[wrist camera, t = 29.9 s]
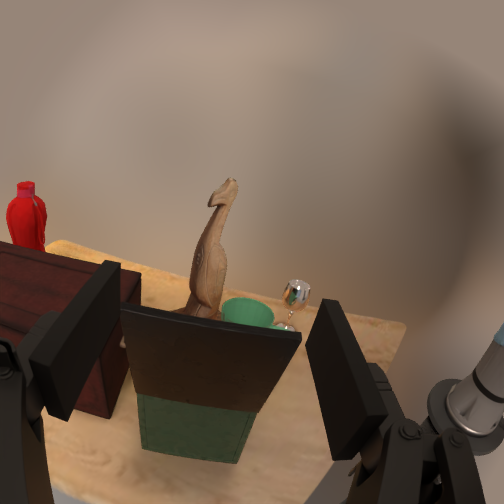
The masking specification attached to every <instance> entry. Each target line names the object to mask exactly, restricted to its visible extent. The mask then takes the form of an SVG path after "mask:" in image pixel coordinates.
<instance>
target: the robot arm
mask: <svg viewBox="0 0 504 504" xmlns="http://www.w3.org/2000/svg"><path fill="white" fill-rule="evenodd" d="M120 315H121V263H119V262H114V261H109V260H105V261H104V262H103V263H102V264H101V265H100V266H99V268H98V269H97V270H96V271H95V272H94V273H93V275H92V276H91V277H90V278H89V279H88V281H87V282H86V283H85V284H84V285H83V287H82V288H81V289H80V290H79V291H78V293H77V294H76V295H75V296H74V298H73V299H72V300H71V301H70V303H69V304H68V305H67V307H66V308H65V309H64V310H63V312H62V313H60V312H57V311H53V310H51V311H49V312H47V313H46V314H44V315H42V316H41V317H40V318H39V319H38V321H37V322H36V323H35V324H34V326H33V327H32V328H31V329H30V330H29V333H27V334H26V336H25V337H24V338H23V339H22V341H21V342H20V343H19V345H18V346H17V347H16V348H15V345H14V344H13V342H12V341H10V340H9V339H7V338H3V337H0V504H54V499H53V494H52V489H51V483H50V478H49V471H48V465H47V457H46V449H45V440H44V429H43V419H42V416H41V411H42V409H43V407H44V406H45V407H46V409H47V412H48V414H49V415H51V416H53V417H56V418H59V419H61V420H64V421H67V422H68V420H69V418H70V415H71V413H72V411H73V409H74V407H75V404H76V402H77V400H78V398H79V396H80V393H81V391H82V389H83V387H84V385H85V383H86V381H87V379H88V377H89V375H90V373H91V371H92V368H93V366H94V364H95V362H96V360H97V358H98V356H99V354H100V353H101V351H102V349H103V347H104V345H105V343H106V341H107V339H108V337H109V335H110V333H111V331H112V329H113V328H114V326H115V324H116V322H117V320H118V318H119V316H120ZM305 347H306V351H307V355H308V359H309V363H310V367H311V371H312V375H313V379H314V383H315V387H316V391H317V395H318V400H319V404H320V408H321V412H322V416H323V421H324V425H325V429H326V434H327V438H328V442H329V447H330V451H331V456H332V460H333V461H337V460H352V459H353V458H354V457H355V455H356V454H357V453H358V452H360V455H361V458H362V459H361V461H360V462H359V463H358V464H357V465H356V466H355V467H354V468H353V469H352V470H351V471H350V472H349V474H348V476H351V475H352V474H353V473H354V472H355V475H354V478H353V481H352V485H351V488H350V491H349V494H348V498H347V501H346V504H486V503H485V498H484V494H483V489H482V485H481V481H480V477H479V473H478V469H477V466H476V462H475V459H474V455H473V452H472V448H471V445H470V442H469V439H468V437H467V435H468V436H471V437H475V438H483V437H486V436H488V435H490V434H491V433H492V431H493V430H494V429H495V428H496V427H497V425H499V426H500V427H501V428H502V429H503V430H504V424H503V423H502V422H501V421H500V419H501V417H502V414H503V412H504V323H503V324H502V326H501V327H500V329H499V331H498V332H497V333H496V334H495V335H494V339H493V341H492V343H491V344H490V346H489V348H488V349H487V351H486V352H485V354H484V355H483V357H482V358H481V360H480V361H479V363H478V364H477V366H476V368H475V369H474V370H473V372H472V373H471V374H470V375H469V376H467V377H466V378H465V379H463V380H462V381H461V382H460V383H458V384H457V385H456V384H455V385H454V386H452V388H451V390H450V391H449V393H448V394H447V395H446V397H445V402H444V405H445V410H446V413H447V415H448V417H449V419H450V420H451V422H452V423H453V424H454V425H455V426H456V427H457V428H456V427H448V428H446V429H445V430H444V431H443V432H442V433H441V434H440V435H436V434H430V433H424V432H423V430H422V429H421V427H420V426H419V425H418V424H417V423H416V422H415V421H412V420H410V419H406V418H405V416H404V414H403V412H402V409H401V407H400V405H399V403H398V401H397V398H396V396H395V394H394V392H393V391H392V388H391V385H390V384H389V383H388V379H387V377H386V375H385V373H384V371H383V370H382V369H381V368H380V367H379V366H378V365H377V364H376V363H367V362H366V360H365V358H364V355H363V353H362V351H361V349H360V346H359V344H358V342H357V340H356V338H355V336H354V333H353V331H352V329H351V327H350V325H349V323H348V320H347V318H346V316H345V314H344V312H343V310H342V308H341V306H340V304H339V302H338V301H336V300H330V299H322V302H321V305H320V307H319V310H318V313H317V316H316V318H315V321H314V323H313V326H312V329H311V331H310V334H309V336H308V339H307V341H306V344H305ZM439 476H440V477H441V483H439V482H438V477H439Z"/></svg>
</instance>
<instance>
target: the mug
mask: <svg viewBox="0 0 504 504" xmlns="http://www.w3.org/2000/svg"><path fill="white" fill-rule="evenodd" d="M221 319H222V321H226V322H232V323H238V324H245V325H251V326H258V327H265V328H272V329H280V330H287V331H290V330H288V329H286V328H283V327H279V326H275V325H272V324H273V322H274V319H275V318H274V313H273V312H272V310H271V309H270V308H269V307H268V306H267V305H265V304H264V303H262V302H260V301H257V300H254V299H251V298H244V297H239V298H232V299H229V300H227V301H226V302H225V303H224V304H223V305H222V311H221Z"/></svg>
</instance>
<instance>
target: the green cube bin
mask: <svg viewBox="0 0 504 504" xmlns="http://www.w3.org/2000/svg"><path fill="white" fill-rule="evenodd" d="M137 402H138V414H139V425H140V435H141V443H142V449H145V450H150V451H155V452H159V453H164V454H170V455H175V456H181V457H187V458H193V459H200V460H207V461H216V462H225V463H235V464H237V462H238V459H239V457H240V455H241V452H242V450H243V447H244V445H245V442H246V440H247V437H248V435H249V432H250V430H251V427H252V425H253V422H254V420H255V417H256V415H257V413H255V412H245V411H236V410H228V409H220V408H213V407H206V406H200V405H194V404H188V403H182V402H177V401H171V400H166V399H161V398H156V397H152V396H147V395H143V394H139V393H137Z"/></svg>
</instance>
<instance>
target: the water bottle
mask: <svg viewBox="0 0 504 504" xmlns="http://www.w3.org/2000/svg"><path fill="white" fill-rule="evenodd" d="M6 220H7V225H8V229H9V232H10V235H11V238H12V241H13V244H14V245H18V246H22V247H26V248H30V249H34V250H39V251H43V252H45V248H44V245H43V244H44V243H45V234H44V231H45V226H46V220H47V213H46V208H45V203H44V202H43V201H42V199H40V198H39V197H37V196H36V195H35V183H34V182H30V181H26V182H21V183H18V184H17V197H16V198H14V199H13V200H12V201H11V202H10V203H9V205H8V208H7V213H6ZM43 238H44V243H43Z"/></svg>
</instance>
